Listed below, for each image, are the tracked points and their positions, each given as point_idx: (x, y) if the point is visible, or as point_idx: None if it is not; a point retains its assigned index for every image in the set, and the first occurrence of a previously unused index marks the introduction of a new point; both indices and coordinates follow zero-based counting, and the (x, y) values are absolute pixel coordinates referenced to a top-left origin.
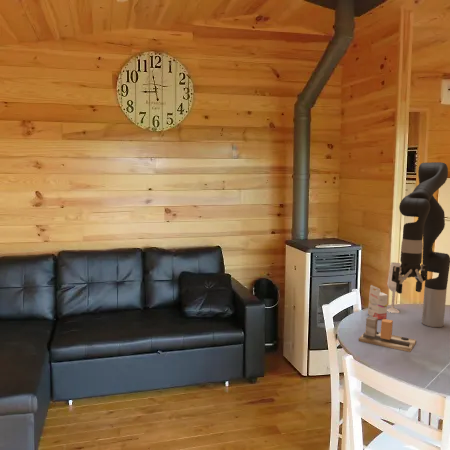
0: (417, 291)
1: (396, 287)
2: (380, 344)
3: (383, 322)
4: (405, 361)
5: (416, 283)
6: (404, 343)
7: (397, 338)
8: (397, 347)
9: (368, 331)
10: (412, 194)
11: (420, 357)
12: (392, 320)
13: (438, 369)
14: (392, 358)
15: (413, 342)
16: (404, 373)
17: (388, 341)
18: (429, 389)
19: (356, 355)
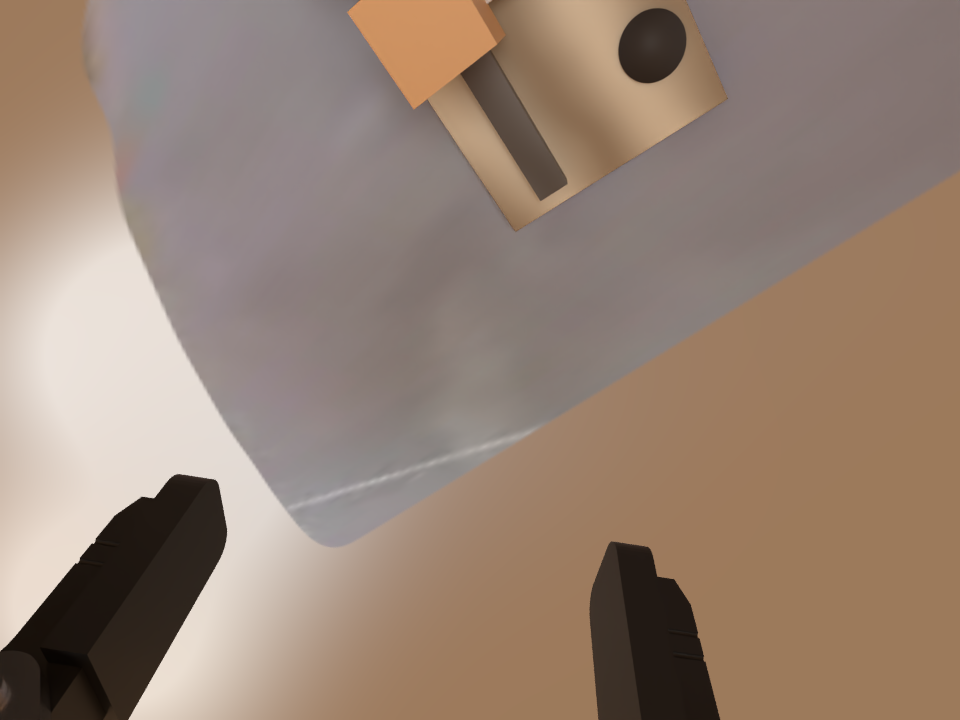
0: (598, 573)
1: (80, 571)
2: None
3: (365, 35)
4: (381, 316)
5: (633, 701)
6: (522, 172)
7: (604, 3)
8: (466, 155)
9: None
10: None
11: (509, 309)
12: (493, 41)
13: (474, 436)
14: (333, 258)
15: (648, 141)
16: (282, 407)
17: None
18: (295, 521)
19: (121, 131)
